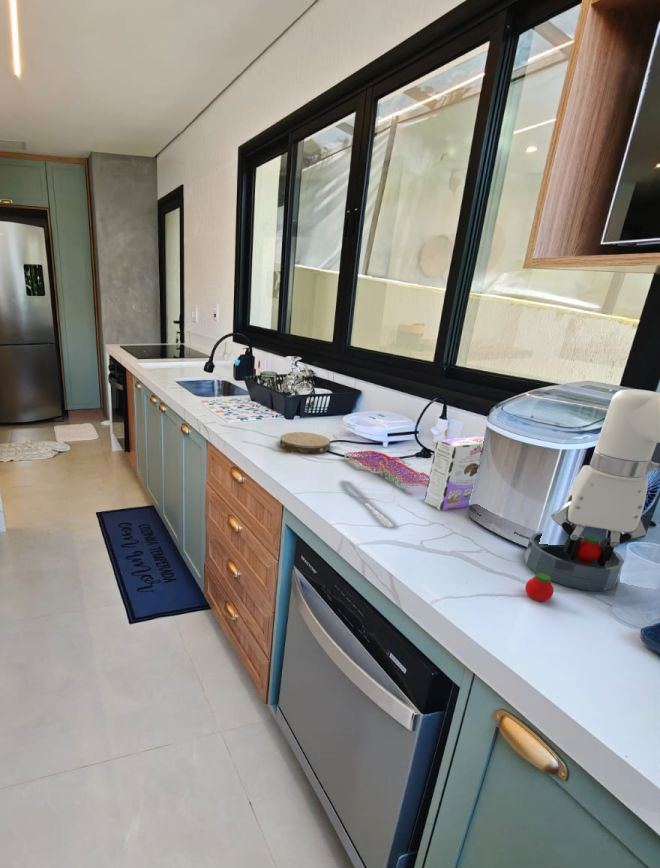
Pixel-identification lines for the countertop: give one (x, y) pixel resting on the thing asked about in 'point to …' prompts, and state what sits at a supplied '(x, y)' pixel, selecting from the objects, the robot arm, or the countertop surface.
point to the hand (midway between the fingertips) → (584, 559)
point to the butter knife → (380, 516)
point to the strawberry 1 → (540, 587)
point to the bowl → (571, 566)
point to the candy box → (453, 472)
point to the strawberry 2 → (589, 549)
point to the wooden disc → (304, 443)
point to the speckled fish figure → (393, 467)
